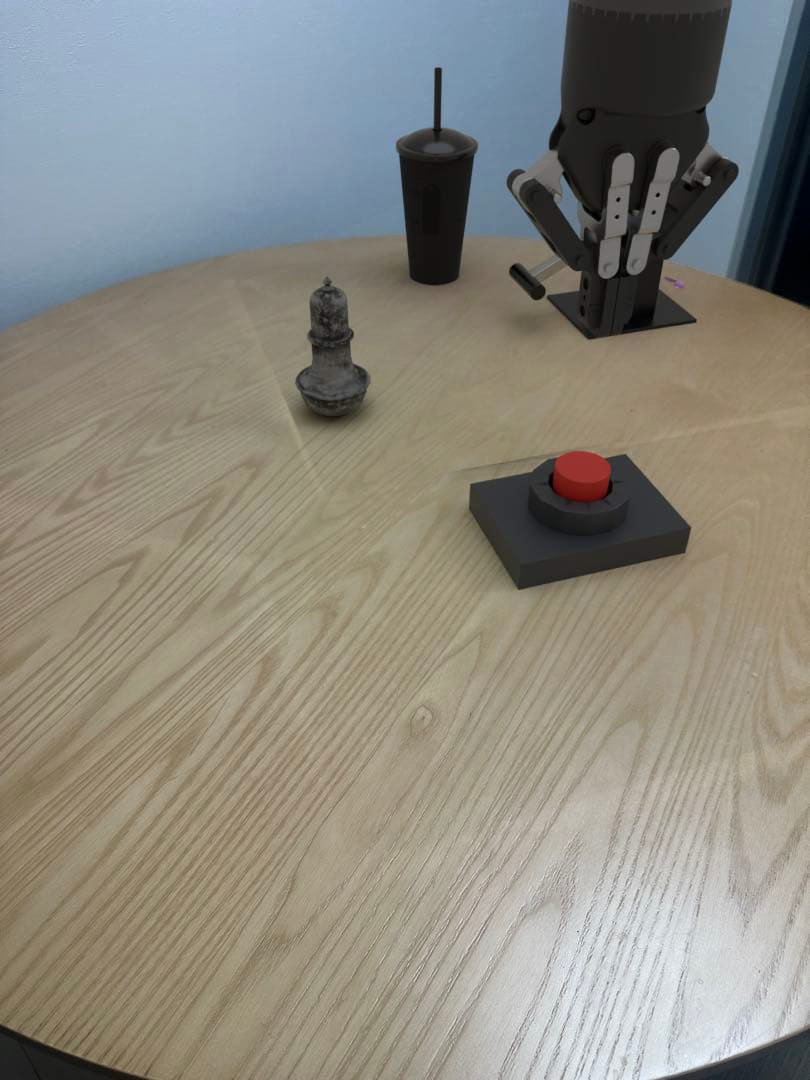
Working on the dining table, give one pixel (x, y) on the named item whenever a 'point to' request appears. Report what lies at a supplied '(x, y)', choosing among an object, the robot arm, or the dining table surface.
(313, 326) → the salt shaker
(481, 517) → the button box
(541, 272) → the press lever
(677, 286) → the earpods
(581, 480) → the button
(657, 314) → the lever bracket
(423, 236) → the drinking cup
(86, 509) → the dining table surface
